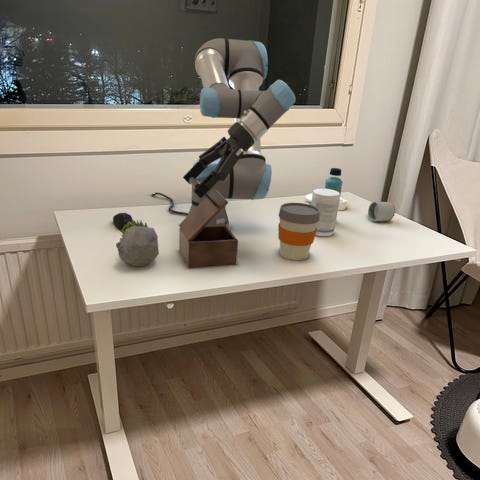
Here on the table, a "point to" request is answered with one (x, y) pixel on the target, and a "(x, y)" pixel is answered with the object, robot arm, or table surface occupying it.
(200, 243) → the bin
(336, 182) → the beverage bottle
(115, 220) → the gaming mouse
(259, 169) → the robot arm
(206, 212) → the bin lid
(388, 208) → the ceramic mug
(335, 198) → the supplement tub
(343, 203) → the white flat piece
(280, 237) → the reusable coffee cup
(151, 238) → the potted plant
